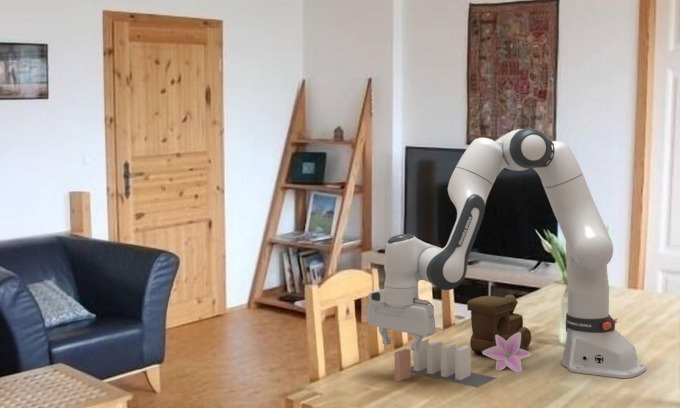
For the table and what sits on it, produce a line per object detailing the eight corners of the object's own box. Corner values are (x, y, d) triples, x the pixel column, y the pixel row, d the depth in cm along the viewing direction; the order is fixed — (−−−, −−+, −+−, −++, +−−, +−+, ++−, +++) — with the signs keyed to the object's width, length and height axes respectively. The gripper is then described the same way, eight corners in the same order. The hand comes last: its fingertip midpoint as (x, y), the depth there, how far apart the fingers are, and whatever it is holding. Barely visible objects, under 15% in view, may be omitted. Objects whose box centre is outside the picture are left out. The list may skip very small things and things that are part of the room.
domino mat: (497, 379, 246) (497, 377, 245) (477, 389, 238) (477, 387, 238) (422, 364, 261) (422, 362, 261) (401, 373, 253) (401, 371, 253)
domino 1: (410, 378, 248) (410, 349, 247) (399, 383, 244) (399, 353, 243) (405, 377, 249) (405, 348, 248) (394, 382, 245) (394, 352, 245)
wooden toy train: (497, 363, 261) (497, 305, 259) (464, 356, 269) (464, 300, 267) (534, 348, 276) (535, 293, 274) (502, 341, 283) (502, 288, 281)
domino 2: (428, 366, 256) (428, 338, 255) (418, 371, 253) (418, 342, 252) (423, 365, 257) (423, 337, 256) (413, 370, 254) (413, 341, 253)
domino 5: (470, 375, 248) (470, 346, 247) (460, 380, 244) (460, 350, 243) (465, 374, 249) (465, 345, 248) (455, 379, 245) (455, 349, 244)
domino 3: (442, 369, 254) (442, 341, 253) (432, 374, 250) (431, 345, 249) (437, 368, 255) (437, 340, 254) (427, 373, 251) (426, 344, 250)
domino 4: (456, 372, 251) (456, 343, 250) (446, 377, 247) (445, 347, 246) (451, 371, 252) (451, 342, 251) (441, 376, 248) (440, 346, 247)
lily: (476, 371, 257) (479, 347, 251) (497, 347, 264) (500, 322, 259) (514, 391, 251) (518, 366, 245) (535, 365, 258) (539, 341, 253)
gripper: (440, 299, 240) (440, 351, 242) (378, 289, 253) (378, 338, 255) (426, 303, 235) (426, 356, 237) (363, 292, 248) (363, 343, 250)
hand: (400, 347), depth 246 cm, fingers open, 8 cm apart
